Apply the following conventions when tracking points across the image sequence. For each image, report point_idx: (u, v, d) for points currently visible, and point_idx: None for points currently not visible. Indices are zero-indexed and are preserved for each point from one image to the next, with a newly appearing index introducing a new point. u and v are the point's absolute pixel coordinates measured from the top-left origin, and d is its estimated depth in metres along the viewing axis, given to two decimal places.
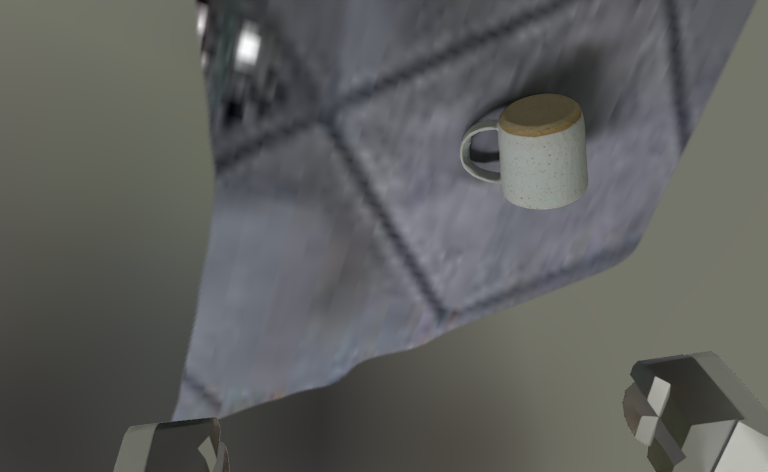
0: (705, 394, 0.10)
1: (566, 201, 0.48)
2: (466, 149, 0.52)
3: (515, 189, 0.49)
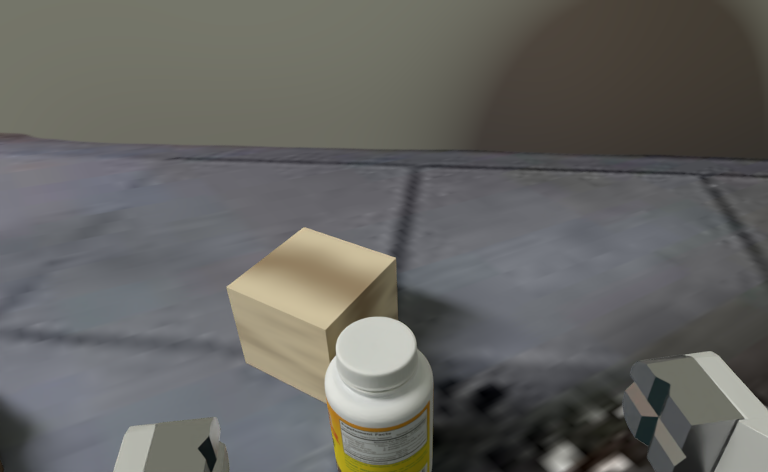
0: (705, 394, 0.10)
1: None
2: None
3: None
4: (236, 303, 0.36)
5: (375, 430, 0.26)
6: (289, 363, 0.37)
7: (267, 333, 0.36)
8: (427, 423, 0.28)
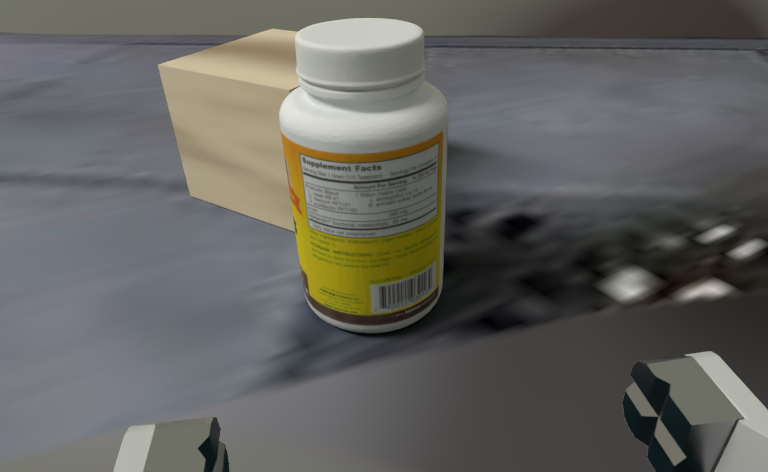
0: (705, 394, 0.10)
1: None
2: None
3: None
4: (172, 89, 0.26)
5: (355, 159, 0.16)
6: (243, 175, 0.27)
7: (214, 130, 0.26)
8: (438, 177, 0.18)
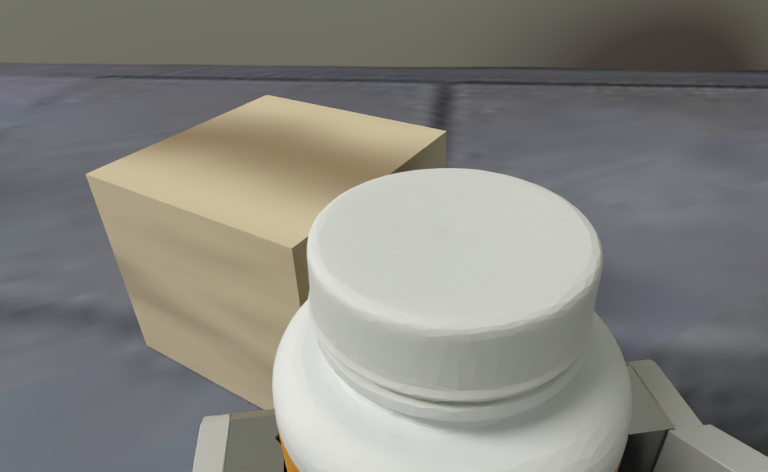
0: (638, 403, 0.10)
1: None
2: None
3: None
4: (109, 210, 0.17)
5: None
6: (220, 342, 0.17)
7: (174, 276, 0.17)
8: None
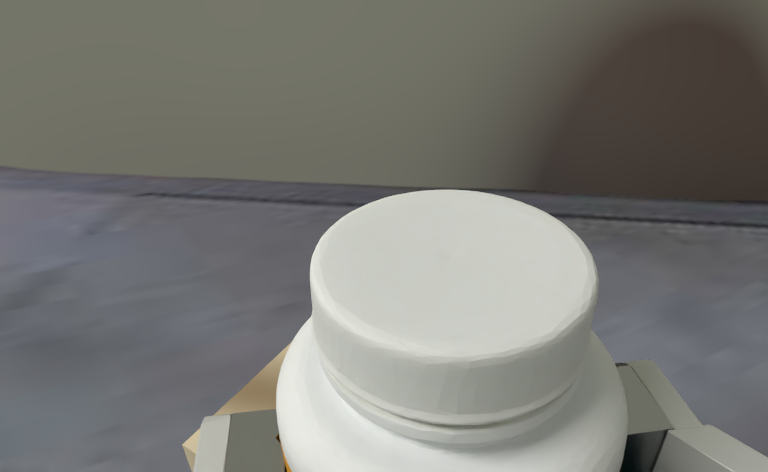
0: (638, 404, 0.10)
1: None
2: None
3: None
4: None
5: None
6: None
7: None
8: None
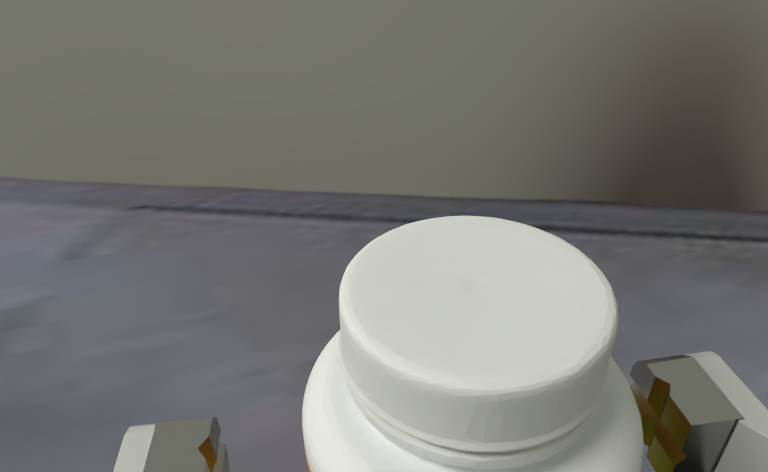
0: (705, 394, 0.10)
1: None
2: None
3: None
4: None
5: None
6: None
7: None
8: None
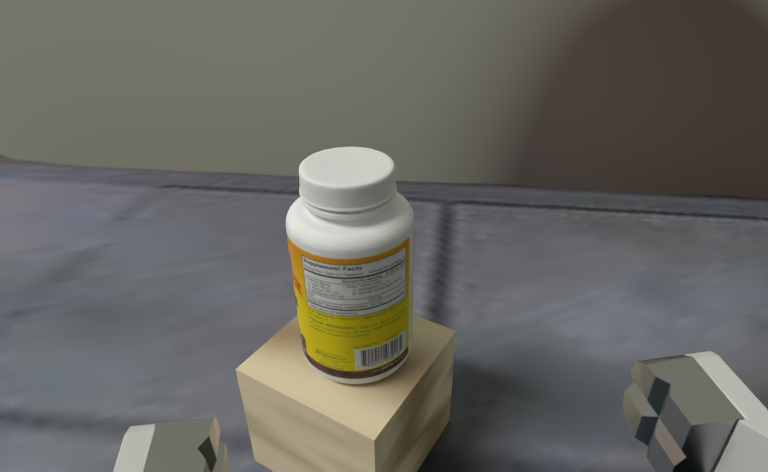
0: (705, 394, 0.10)
1: None
2: None
3: None
4: (248, 390, 0.27)
5: (343, 262, 0.22)
6: (315, 471, 0.28)
7: (288, 432, 0.27)
8: (406, 269, 0.24)
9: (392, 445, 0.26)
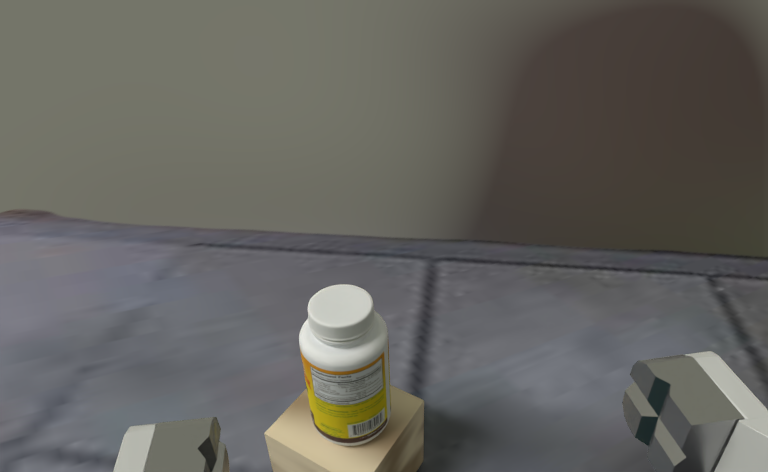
0: (705, 394, 0.10)
1: None
2: None
3: None
4: (273, 447, 0.38)
5: (338, 373, 0.33)
6: None
7: None
8: (382, 371, 0.34)
9: None
